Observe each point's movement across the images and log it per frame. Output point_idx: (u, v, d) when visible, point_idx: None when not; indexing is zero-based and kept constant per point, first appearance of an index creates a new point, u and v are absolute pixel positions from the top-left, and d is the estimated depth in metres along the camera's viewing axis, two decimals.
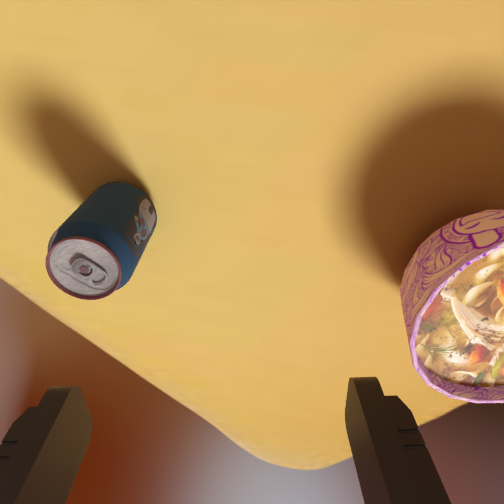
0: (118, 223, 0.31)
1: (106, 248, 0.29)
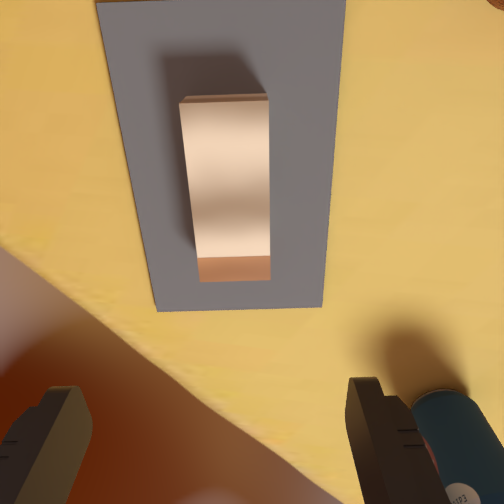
0: None
1: None
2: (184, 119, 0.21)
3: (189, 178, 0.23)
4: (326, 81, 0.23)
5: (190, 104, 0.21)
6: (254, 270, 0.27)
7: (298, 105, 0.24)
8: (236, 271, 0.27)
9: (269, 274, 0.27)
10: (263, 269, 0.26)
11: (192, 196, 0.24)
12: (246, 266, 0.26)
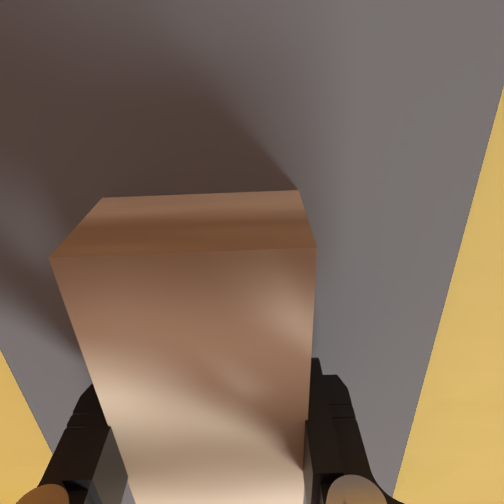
0: None
1: None
2: (72, 294, 0.07)
3: (106, 411, 0.09)
4: (449, 162, 0.09)
5: (83, 259, 0.07)
6: None
7: (374, 215, 0.10)
8: None
9: None
10: None
11: (119, 440, 0.10)
12: None
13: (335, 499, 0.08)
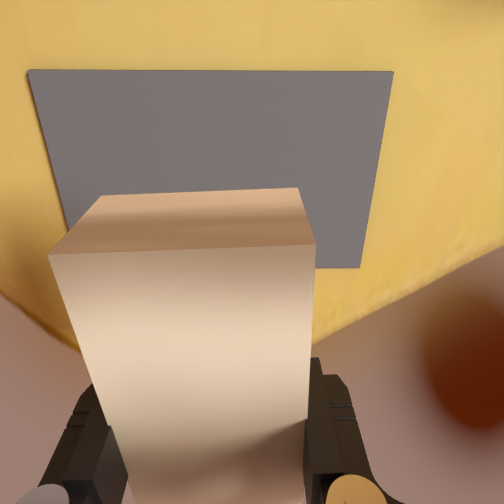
0: None
1: None
2: (70, 292, 0.07)
3: (106, 408, 0.09)
4: (104, 85, 0.23)
5: (82, 256, 0.07)
6: None
7: (130, 114, 0.24)
8: None
9: None
10: None
11: (118, 438, 0.10)
12: None
13: (335, 499, 0.08)
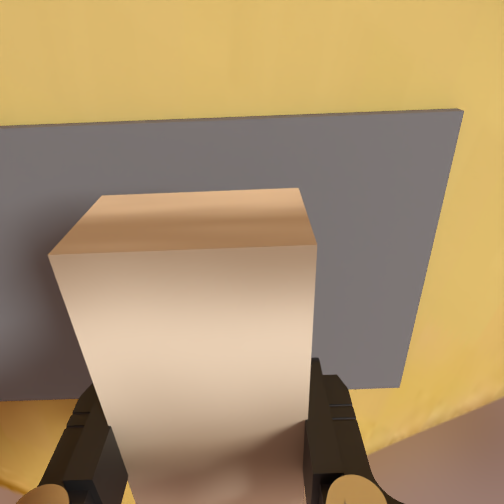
0: None
1: None
2: (71, 292, 0.07)
3: (106, 409, 0.09)
4: None
5: (83, 256, 0.07)
6: None
7: (23, 195, 0.14)
8: None
9: None
10: None
11: (119, 438, 0.10)
12: None
13: (335, 499, 0.08)
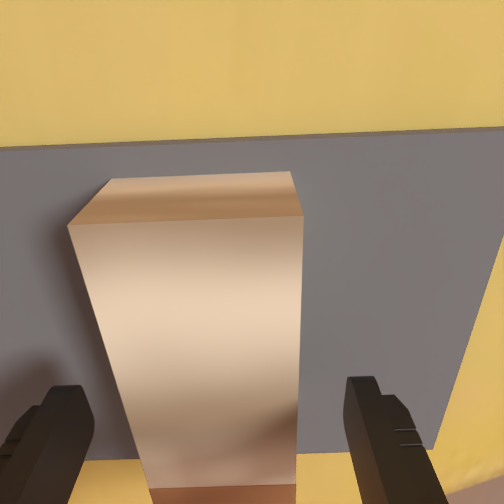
0: None
1: None
2: (87, 259, 0.08)
3: (116, 371, 0.10)
4: None
5: (98, 226, 0.08)
6: (264, 503, 0.13)
7: None
8: None
9: None
10: (281, 502, 0.13)
11: (127, 400, 0.11)
12: (248, 497, 0.13)
13: None
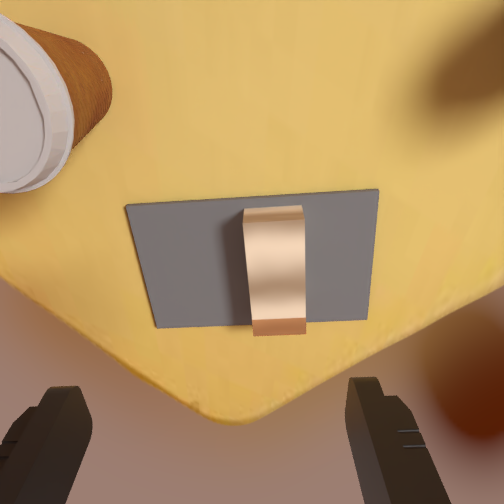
0: None
1: None
2: (246, 232, 0.31)
3: (248, 268, 0.33)
4: (176, 211, 0.33)
5: (250, 223, 0.31)
6: (294, 327, 0.36)
7: (194, 228, 0.34)
8: (280, 328, 0.36)
9: (305, 330, 0.36)
10: (300, 326, 0.36)
11: (249, 279, 0.33)
12: (288, 324, 0.36)
13: None
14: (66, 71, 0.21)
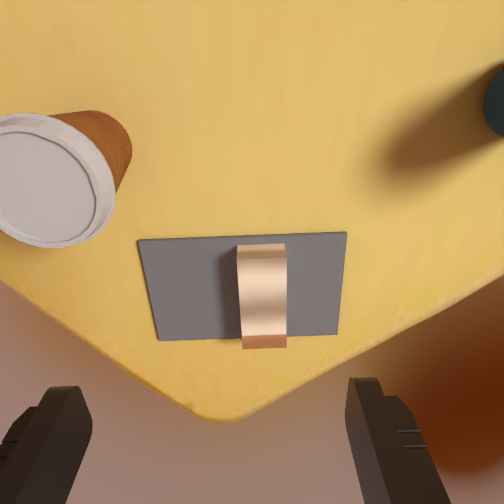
0: None
1: None
2: (239, 266, 0.38)
3: (240, 295, 0.40)
4: (181, 246, 0.40)
5: (243, 260, 0.38)
6: (276, 342, 0.43)
7: (195, 259, 0.41)
8: (265, 343, 0.43)
9: (285, 344, 0.43)
10: (282, 341, 0.43)
11: (241, 303, 0.40)
12: (271, 340, 0.43)
13: None
14: (108, 156, 0.27)
